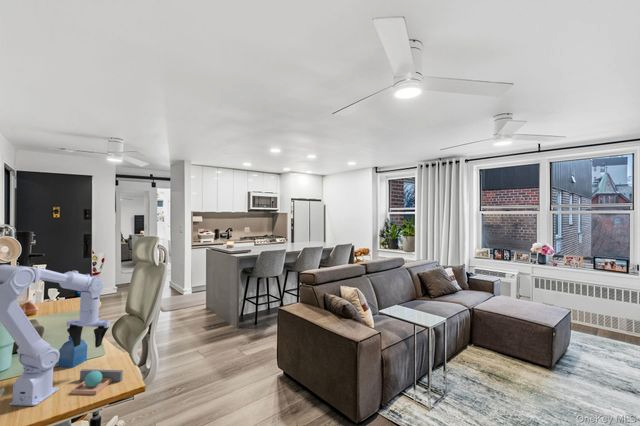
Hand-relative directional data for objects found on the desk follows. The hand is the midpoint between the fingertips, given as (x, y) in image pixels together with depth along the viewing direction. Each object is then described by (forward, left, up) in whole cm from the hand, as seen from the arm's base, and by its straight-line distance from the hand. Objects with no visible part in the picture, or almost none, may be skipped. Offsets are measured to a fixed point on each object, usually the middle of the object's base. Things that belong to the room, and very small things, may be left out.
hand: (87, 346), depth 117 cm
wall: (-5, -9, -10) cm, 14 cm away
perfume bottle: (+7, +10, -10) cm, 16 cm away
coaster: (-10, -9, -10) cm, 16 cm away
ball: (-9, -9, -10) cm, 16 cm away
